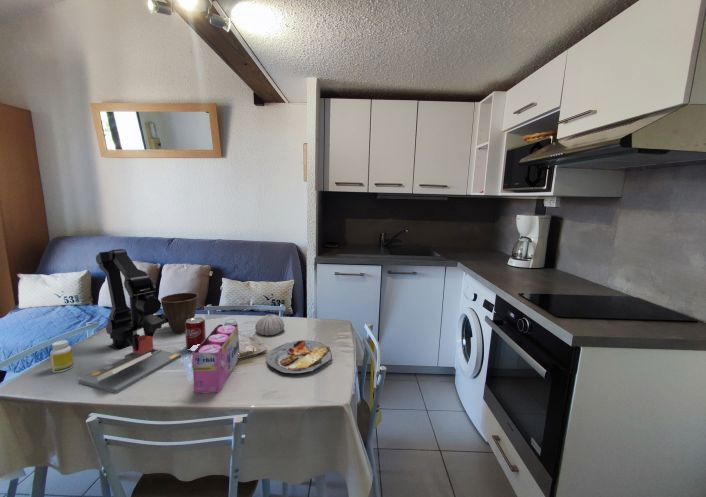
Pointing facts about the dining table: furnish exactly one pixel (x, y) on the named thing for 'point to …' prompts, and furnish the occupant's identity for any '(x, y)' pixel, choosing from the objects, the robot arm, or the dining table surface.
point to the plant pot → (179, 309)
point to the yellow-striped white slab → (123, 366)
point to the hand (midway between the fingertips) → (142, 347)
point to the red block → (144, 344)
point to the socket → (155, 352)
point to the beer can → (230, 322)
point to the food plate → (299, 356)
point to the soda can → (195, 331)
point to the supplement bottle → (61, 356)
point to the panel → (129, 372)
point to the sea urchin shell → (269, 325)
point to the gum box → (215, 359)
